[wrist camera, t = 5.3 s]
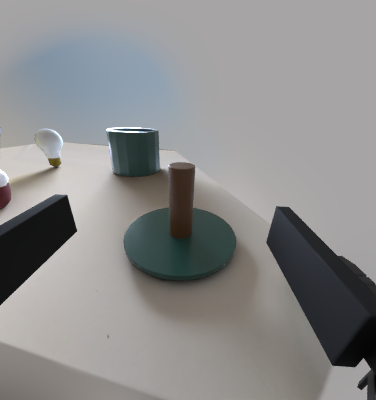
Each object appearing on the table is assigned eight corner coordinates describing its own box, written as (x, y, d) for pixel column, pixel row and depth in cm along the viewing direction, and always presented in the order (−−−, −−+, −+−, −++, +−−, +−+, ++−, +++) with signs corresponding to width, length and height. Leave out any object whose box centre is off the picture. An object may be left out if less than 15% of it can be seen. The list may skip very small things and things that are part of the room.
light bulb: (69, 163, 54) (60, 127, 50) (67, 168, 49) (57, 129, 45) (45, 165, 52) (34, 127, 47) (41, 170, 47) (27, 129, 42)
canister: (165, 165, 55) (164, 129, 50) (148, 178, 44) (145, 133, 39) (128, 162, 57) (124, 127, 53) (103, 173, 46) (95, 130, 42)
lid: (234, 220, 28) (245, 157, 24) (235, 299, 16) (256, 200, 12) (152, 208, 30) (148, 149, 26) (99, 269, 18) (76, 178, 14)
